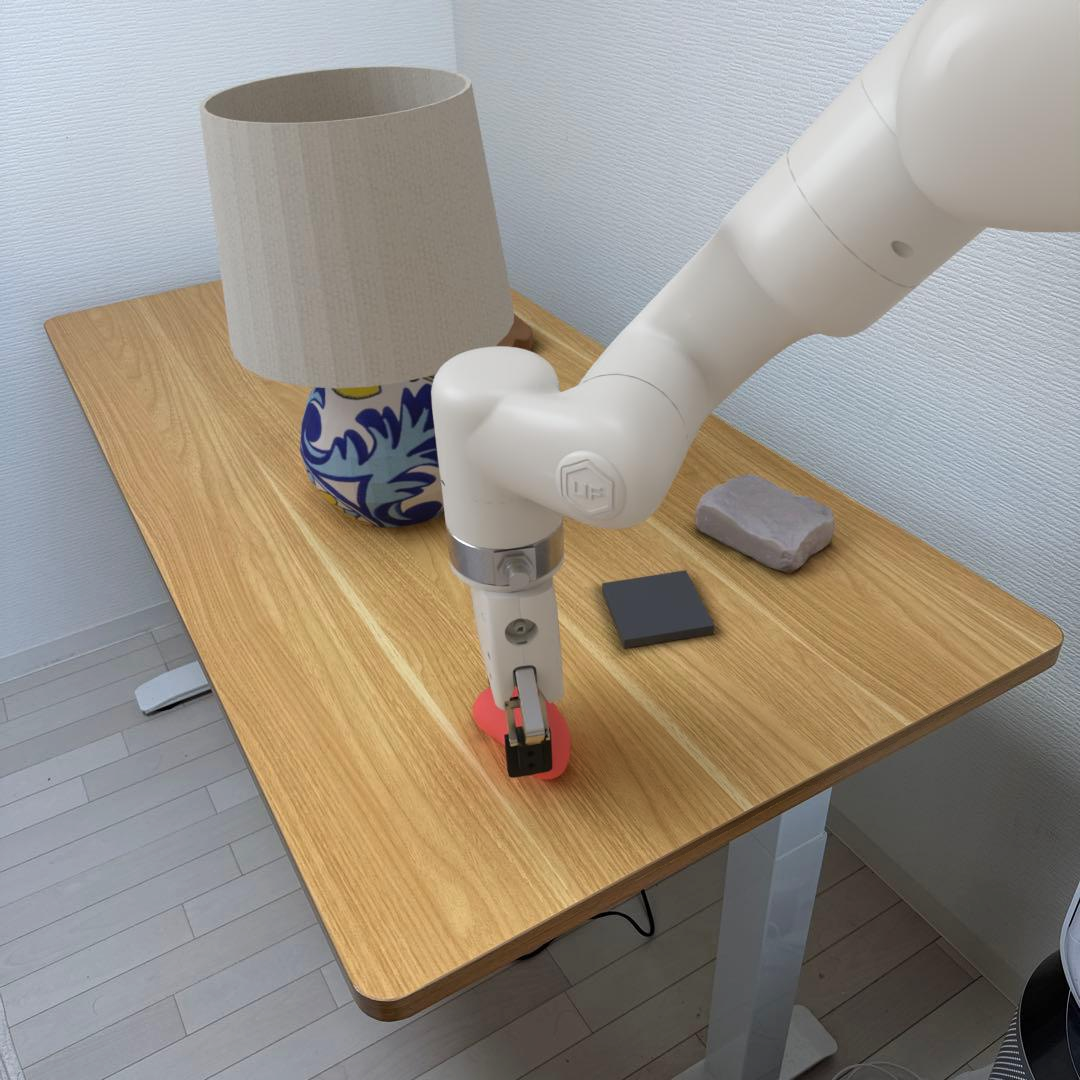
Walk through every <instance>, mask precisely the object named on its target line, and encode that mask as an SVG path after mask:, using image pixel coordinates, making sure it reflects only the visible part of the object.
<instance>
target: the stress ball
mask: <svg viewBox="0 0 1080 1080" xmlns="http://www.w3.org/2000/svg"><path fill="white" fill-rule="evenodd" d="M517 696H518V693H517V687H514V691H513V693H512V695H511V697H517ZM545 704H546V711H547V718H548V725H549V727H550V730H551V742H552V766H553V767H552V770H551V771H549V772H544V773H538V774H534V775H532V776H533V777H535V778H537V779H539V780H545V781H546V780H547V781H548V780H553V779H556V778H558V777H560V776H561V775H562V774H564V773H565V770H566V768H567V767H568V765H569V762H570V756H571V752H572V751H571V750H572V749H571V748H572V747H571V734H570V731H569V728H568V724H567V722H566V719H565V718H564V716H563V714H562V712H561V711H560V709H559V708H558V706H557V705H556V704H555V702H554V703H549V702H548V701H547V700H546V698H545ZM471 710H472V717H473V720H474V722H475V724H476V725H477V726H478V728H479V729H480V730H481V731H483V732H484V733H485V734H487V735H488V736H489V737H491V738H492V739H494V740H495V741H497V742H498V743H500V744H501V745H503V746H504V747H505V739H504V735H506V734H508V729H507V722H506V715H505V711H504V710H502V709H500V708H498V707H497V706H496V705H495V701H494V697H493V694H492V690H491V687H490V686H488V687H487V688H486V689H484V690H483V691H482V692H480V693H479V694H478V695H477V697H476V699H475V700H474V702H473V704H472V709H471ZM514 716H515V723H516V727H520V726H522V725H523V723H522V715H521V710H520V708H514Z"/></svg>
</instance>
